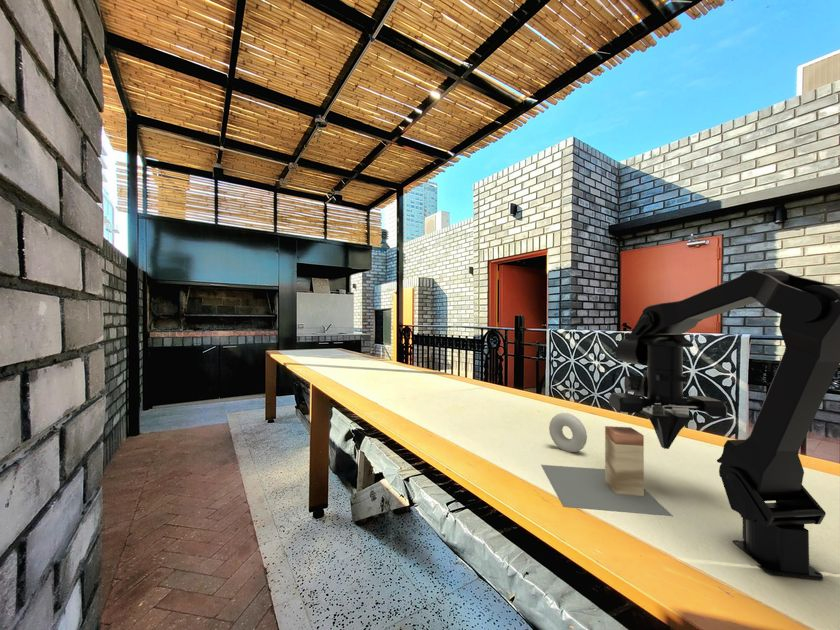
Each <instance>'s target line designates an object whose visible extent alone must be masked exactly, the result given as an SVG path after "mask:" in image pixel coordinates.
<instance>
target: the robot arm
mask: <svg viewBox="0 0 840 630" xmlns="http://www.w3.org/2000/svg"><path fill="white" fill-rule="evenodd" d="M757 302H758V304H761V305H762V306H763V307H764V308H766V309H767V310H770V311H772V312H775V313H777V314H779V315H780V320H779V325H778V327H779V328H778V329H779V332H780V334H781V336H782V340H783V343H784V345H785V348H784V352H783V355H782V356H781V359H780V361H779V365H778V366H777V369H776V372H774V373H775V374H774V377H773V378H772V381H771V382H770V385H769V388H768V391H767V393H766V395H765V398H764V401H763V403H762V405H761V407H760V410H759V412H758V415H757V418H756V420H755V422H754V425H753V427H752V430H751V432H750V434H749V436H748V437H747V438H745V439H727V440H726V441H725V443H724V444H723V449H722V454H721V456H720V457H719V458H717V459H716V462H717V463H718V464H720V465H719V469H718V473H719V477H720V479H721V481H722V484H723V488H724V491H725V493H726V497H727V499H728V504H729V506H730V509H731V510H733V511H735V512H736V513H738V514H739V515H740V517H741V518H742V539H743V540H738V539H737V540H736V539H733V540H732V543H733V544H734V545H735V546H736V547H737V548H739V550H741V551H742V552H744V553H745V554H746V555H747V556H748V557H749V558H751V559H752V560H753V561H755V562H756V563H757V564H758V566H759V568H761V569H762V570H763V571H765V572H766V573H768V574H770V575H775V576H785V577H793V578H801V579H802V578H803V579H805V578H806V579H814V580H815V579H816V580H824V575H823V574H822V573H820V572H819V571H818V570H816V569H815V568H813V567H812V566H811V565H810V541H809V540H810V532H809V529H807V528H805V525H813V524H814V525H821V524H822V522H823V520H824V518H825V517H826V515H827V513H826V511H825V510H824V508H822V506H821V505H820V504H819V503H818V501H817V500H816V499H815V498H814V497H813V496H812V495H811V494H810V492H809V491H808V490H807V489H806V488H805V487H804V485H803V480H804V475H805V471H804V467H803V464H802V461H801V459H800V456H799V453H800V450H801V448H802V446H803V443H804V441H805V440H806V439H805V438H806V437H807V435H808V433H809V430H810V428H811V426H812V423H813V422H814V420H815V417H816V416H817V414H818V411H819V409H820V407H821V405H822V403H823V400H824V398H825V396H826V394H827V391H828V390H829V388H830V385H831V383H832V381H833V380H834V377H835V375H836V372H837V370H838V369H839V367H840V285H836V284H831V283H827V282H823V281H819V280H813V279H811V278H810V279H809V278H805V277H801V276H798V275H794V274H791V273H788V272H786V271H784V270H778V269H761V268H759V269H758V268H755V269H754V268H753V269H751V270H747V271H745V272H743V273H742V274H741V275H740V276H736V277H735V278H732V279H729V280H727V281H725V282H723V283H721V284H717V285H716V286H713V287H711V288H709V289H706V290H703V291H700V292H698V293H696V294H694V295H691V296H689V297H687V298H683V299H682V300H677V301H669V302H668V301H667V302H662V303H657V304H652V305H647V306H646V307H645V308H644V309H643V310H642V311H641V312H642V314H640V317H639V318H638V320H637V322H636V324H635V326H634V327H633V328H632V329H631V332H630V333H629V332H624V336H623V337H624V338H623V339H621V340H620V341H619V342H618V343H617V346H616V348H615V353H616V356H617V358H618V360H620V361H621V362H624V363H627V364H633V365H638V366H639V365H640V366H647V367H646V371H645V370H644V371H643V373H642V379H638V377H637V376H635V375H634V376H632V375H626V376H624V382H623V385H624V391H625V392H612V393H611V394H610V395H609V397H608V406H609V407H612V408H613V409H615V410H616V411H618V412H621V413H626V414H627V413H628V414H629V413H632V414H639V413H641V414H644V415H645V416H646V417H647V418H648V419H649V421H650V423H651V424H652V427H653V429H654V431H655V435H656V437H657V439H658V442H659V444H660V447H661V448H663V449H666V450H669V449H670V448H671V446H672V444H673V443H674V441H675V439H676V438H677V437H678V435H679V434H680V432H681V430H683V428H684V427H685V425H687V423H688V422H689V421H693V420H694V416H691V415H689V413H690V412H689V411H702V412H703V411H704V413H706V415H707V416H709V417H710V418H711V417H713V418H714V417H716V418H727V417H728V407H727V405H726V404H725V402H723V401H722V400H719V399H716V398H712V397H709V396H707V395H706V396H705V395H704V396H703V395H687V396H686V397H685V396H684V382H685V383H687V382H688V376H687V375H683V374H684V373H683V372H684V370H683V368H684V365H683V364H684V362H683V361H684V360H683V359H684V358H683V357H684V356H683V355H684V354H683V353H684V352H683V351H684V350H683V348H692V347H694V343H692V342H691V341H690V340H689V339H688V338H686V337H685V335H684V334H685V333H687V332H688V331H690V330H692V329H694V328H695V327H697V325H698V323H699V322H702V321H703V320H705V319H709V318H711V317H714V316H717V315H721V314H724V313H728V312H730V311H733V310H736V309H739V308H742V307H745V306H749V305H752V304H754V303H757ZM631 392H632V393H633V394H632V393H631ZM771 501H772V502H771Z"/></svg>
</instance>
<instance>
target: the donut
mask: <svg viewBox="0 0 840 630" xmlns="http://www.w3.org/2000/svg"><path fill="white" fill-rule="evenodd" d="M564 427H567V428H568V429H570V432H571V434H572V437H571V438H568V437H567V436H565V434H564V432H563V428H564ZM548 429H549V435H550V438H551V440H552V443H554V444H555V446H557V448H559V449H560V450H563V451H564V452H568V453H578V452H580V451H581V450H584V448H585V446H586V444H587V441H588V435H587V430H586V427H585V425H584V424H583V422H582V421H581V420H580V419H579V418H578V417H577V416H575V415H574V414H571V413H568V412H560V413H557V414H555V415H554V416H553V417H552V418H551V420H550V422H549V427H548Z"/></svg>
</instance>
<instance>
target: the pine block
mask: <svg viewBox="0 0 840 630" xmlns="http://www.w3.org/2000/svg"><path fill="white" fill-rule="evenodd" d="M604 429H605V430H604V439H605V440H604V448H605V449H604V458H605V459H604V463H605V464H604V469H605V482H606V483H607V484H608V485H609V487H610V488H611V489H612V490H613V491H614V492H615V493H616V494H625V495H638V496H644V489H645V469H644V468H645V467H644V465H645V460H644V459H645V455H644V453H645V452H644V450H645V449H644V448H645V447H644V446H645V445H644V439H645V438H644V437H645V435H644V434H642V433H641V432H639V431H638V430H636V429H634V428H632V427H629V426H610V425H605V426H604Z"/></svg>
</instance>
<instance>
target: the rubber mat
mask: <svg viewBox="0 0 840 630" xmlns="http://www.w3.org/2000/svg"><path fill="white" fill-rule="evenodd" d="M540 465H541V468H542V470H543V472H544V473H545V476H546V477H547V479H548V481H549V482H550V483H549V484H551V486H552V489H553V490H554V492H555V494H556V496H557V498H558V500H559V502H560V503H561V505H562V507H563V508H572V509H580V510H581V509H582V510H584V509H585V510H593V511H595V510H596V511H606V512H607V511H608V512H619V513H629V514H630V513H632V514H641V515H653V516H664V517H666V516H667V517H674V515H673V514H672V513H671V512H670V511H669V510H668V509H666V508H665V507H664V505H662V504H661V503H660V502H659V501H658V500H656V499H655V497H654V496H652V494H650V493H649V492H648V491H647V490H646V489H645V488H644V496H638V495H625V494H616V493H615V492H614V491H613V490H612V489H611V488H610V487H609V485H608V484H607V483H606V482H605V468H593V467H579V466H563V465H548V464H540Z"/></svg>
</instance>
